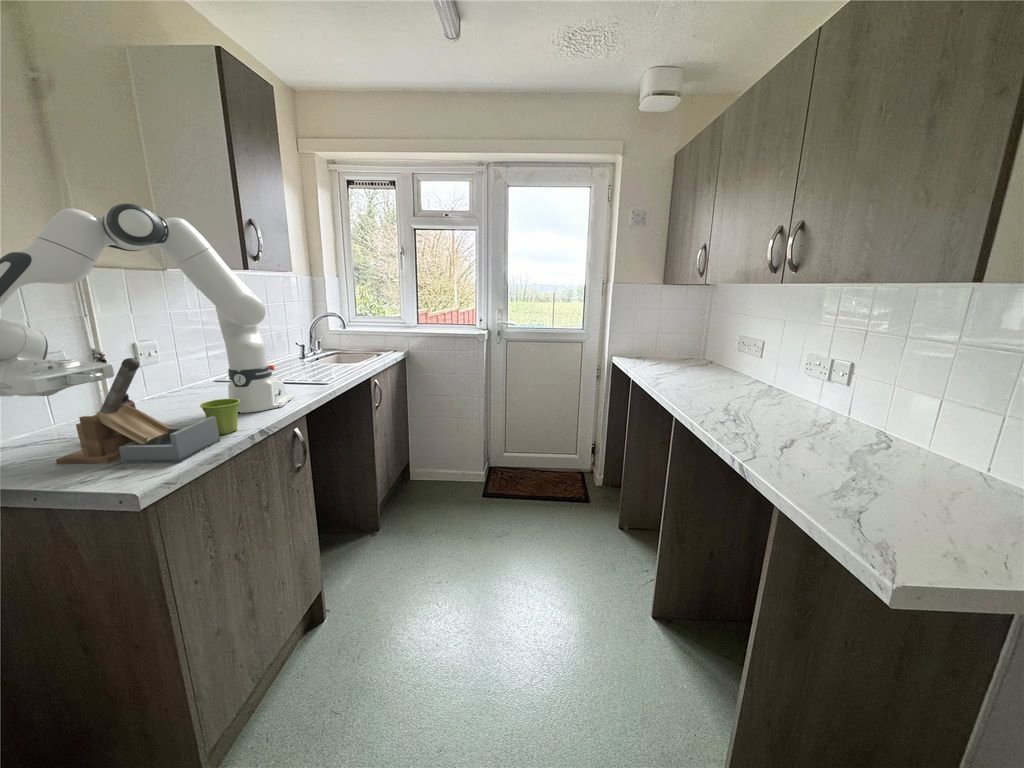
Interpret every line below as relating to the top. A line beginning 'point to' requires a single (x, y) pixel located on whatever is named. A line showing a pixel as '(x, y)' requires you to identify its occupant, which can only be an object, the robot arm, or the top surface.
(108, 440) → the lever stand
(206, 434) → the bin
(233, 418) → the plant pot
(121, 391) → the launcher
